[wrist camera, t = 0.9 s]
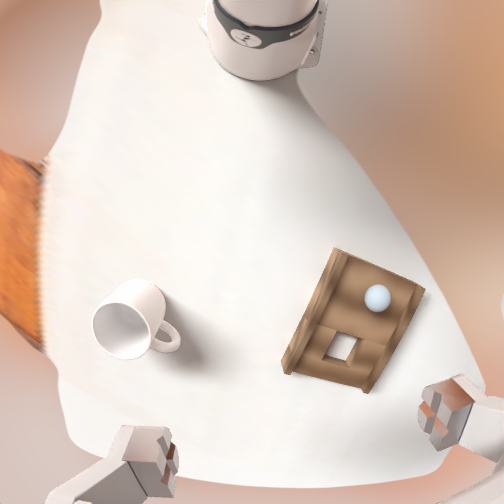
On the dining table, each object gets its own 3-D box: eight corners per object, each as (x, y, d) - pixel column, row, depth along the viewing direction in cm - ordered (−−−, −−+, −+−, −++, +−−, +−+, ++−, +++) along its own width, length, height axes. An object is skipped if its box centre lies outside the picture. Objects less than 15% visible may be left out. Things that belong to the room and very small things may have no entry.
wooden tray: (334, 247, 46) (342, 252, 43) (414, 281, 48) (425, 289, 45) (280, 360, 50) (284, 373, 46) (360, 381, 52) (368, 393, 48)
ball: (367, 277, 45) (378, 285, 41) (388, 285, 46) (400, 294, 42) (356, 301, 46) (366, 311, 42) (377, 309, 46) (387, 319, 42)
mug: (198, 309, 47) (189, 341, 37) (172, 348, 49) (159, 385, 39) (131, 267, 46) (105, 288, 36) (109, 308, 47) (82, 336, 37)
